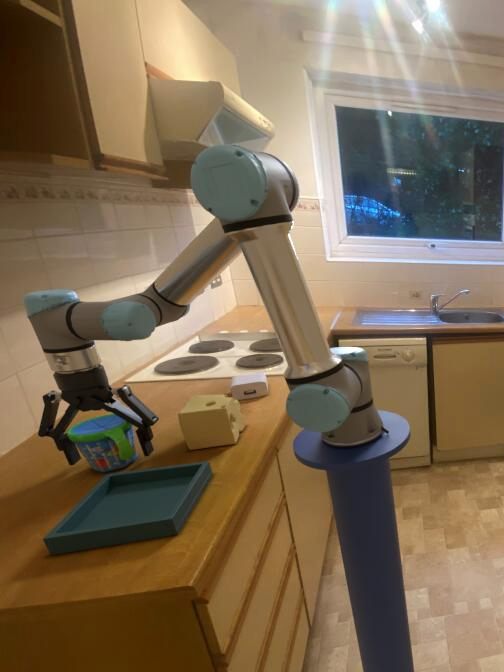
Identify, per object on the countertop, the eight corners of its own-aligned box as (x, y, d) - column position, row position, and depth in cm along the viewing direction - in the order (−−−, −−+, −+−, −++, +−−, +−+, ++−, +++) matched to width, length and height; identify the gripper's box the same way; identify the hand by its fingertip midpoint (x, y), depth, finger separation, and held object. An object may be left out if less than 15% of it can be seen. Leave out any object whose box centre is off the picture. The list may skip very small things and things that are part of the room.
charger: (267, 378, 144) (268, 395, 132) (235, 383, 140) (233, 401, 128) (264, 365, 142) (265, 380, 130) (232, 370, 138) (229, 386, 126)
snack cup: (73, 464, 96) (55, 423, 92) (131, 444, 104) (116, 406, 101) (98, 487, 88) (80, 444, 85) (159, 463, 97) (144, 423, 93)
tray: (213, 474, 93) (209, 460, 92) (177, 534, 76) (171, 518, 75) (112, 488, 88) (106, 474, 87) (51, 555, 71) (42, 539, 70)
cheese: (246, 425, 114) (237, 390, 110) (236, 445, 104) (226, 408, 100) (201, 431, 111) (190, 395, 107) (186, 452, 101) (173, 414, 97)
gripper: (-16, 380, 81) (30, 475, 89) (141, 368, 88) (171, 458, 96) (13, 366, 88) (54, 456, 96) (158, 357, 94) (185, 442, 102)
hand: (113, 457), depth 96 cm, fingers open, 13 cm apart
